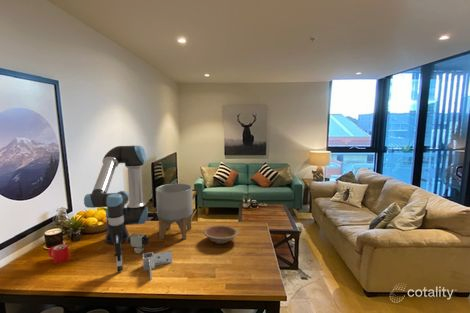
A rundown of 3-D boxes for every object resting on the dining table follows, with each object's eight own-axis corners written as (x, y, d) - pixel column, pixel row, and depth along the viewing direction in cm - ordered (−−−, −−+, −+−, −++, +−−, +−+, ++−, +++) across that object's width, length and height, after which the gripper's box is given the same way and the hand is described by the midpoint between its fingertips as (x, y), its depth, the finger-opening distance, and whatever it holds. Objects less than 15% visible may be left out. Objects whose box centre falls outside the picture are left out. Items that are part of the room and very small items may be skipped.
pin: (116, 268, 143) (113, 239, 141) (124, 267, 145) (121, 238, 142) (115, 272, 140) (113, 243, 137) (124, 271, 141) (121, 241, 139)
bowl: (245, 243, 174) (245, 232, 173) (214, 253, 161) (214, 241, 160) (226, 230, 194) (226, 220, 192) (197, 239, 180) (197, 228, 179)
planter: (181, 223, 207) (180, 181, 201) (200, 234, 188) (199, 188, 183) (152, 233, 190) (149, 187, 185) (168, 245, 172) (166, 195, 167)
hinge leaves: (143, 265, 149) (142, 253, 147) (171, 259, 155) (170, 248, 154) (145, 281, 134) (144, 268, 133) (176, 274, 140) (175, 262, 139)
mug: (53, 255, 160) (52, 243, 159) (72, 256, 159) (71, 243, 158) (43, 262, 152) (42, 249, 151) (63, 263, 151) (61, 250, 150)
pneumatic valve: (145, 254, 160) (144, 236, 158) (128, 253, 162) (127, 234, 160) (150, 250, 165) (149, 232, 163) (133, 248, 167) (132, 231, 166)
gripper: (109, 218, 144) (112, 258, 148) (107, 230, 129) (111, 273, 133) (124, 216, 147) (126, 255, 150) (124, 227, 132) (127, 270, 136)
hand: (119, 263), depth 142 cm, fingers closed on pin, 3 cm apart
